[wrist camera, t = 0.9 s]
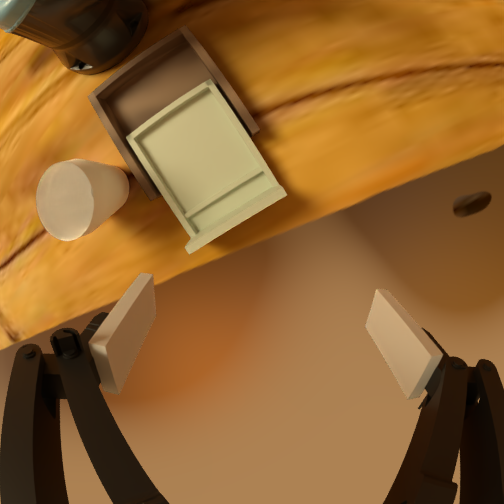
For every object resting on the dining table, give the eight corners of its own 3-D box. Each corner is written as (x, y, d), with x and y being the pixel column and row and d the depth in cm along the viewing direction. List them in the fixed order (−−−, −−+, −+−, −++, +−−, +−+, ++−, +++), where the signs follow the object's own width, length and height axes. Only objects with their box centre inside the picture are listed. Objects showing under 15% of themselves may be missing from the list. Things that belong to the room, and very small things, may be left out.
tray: (131, 138, 33) (112, 135, 28) (212, 82, 31) (205, 69, 26) (198, 240, 38) (189, 254, 32) (281, 189, 36) (287, 195, 30)
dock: (98, 100, 32) (87, 96, 28) (190, 34, 29) (185, 24, 26) (158, 197, 37) (150, 201, 33) (258, 132, 34) (260, 129, 31)
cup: (103, 229, 38) (58, 256, 26) (76, 180, 35) (25, 191, 24) (148, 198, 37) (109, 215, 25) (119, 144, 34) (72, 142, 23)
